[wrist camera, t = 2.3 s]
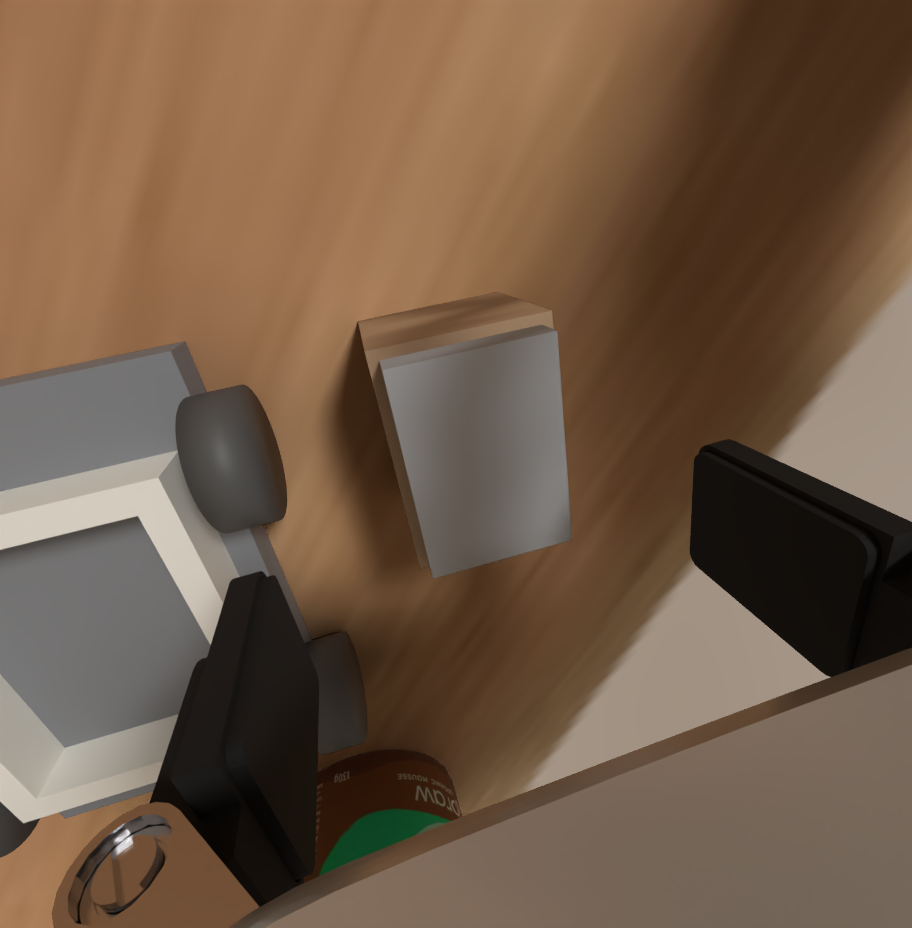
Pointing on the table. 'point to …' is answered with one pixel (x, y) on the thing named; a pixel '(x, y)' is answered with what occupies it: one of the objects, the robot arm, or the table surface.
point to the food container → (378, 804)
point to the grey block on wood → (473, 427)
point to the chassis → (128, 573)
